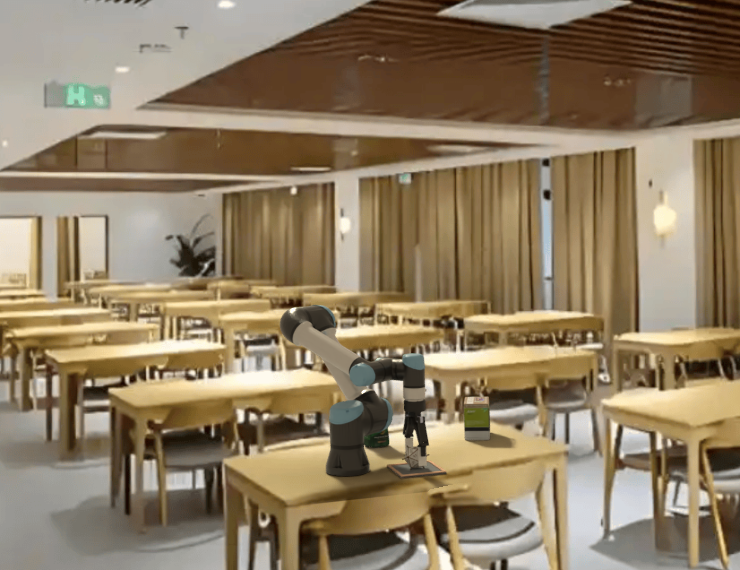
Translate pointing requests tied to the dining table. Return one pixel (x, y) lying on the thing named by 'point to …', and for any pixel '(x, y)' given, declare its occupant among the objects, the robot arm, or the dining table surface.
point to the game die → (412, 457)
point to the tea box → (477, 418)
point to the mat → (415, 470)
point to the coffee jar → (377, 439)
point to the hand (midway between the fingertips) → (415, 461)
